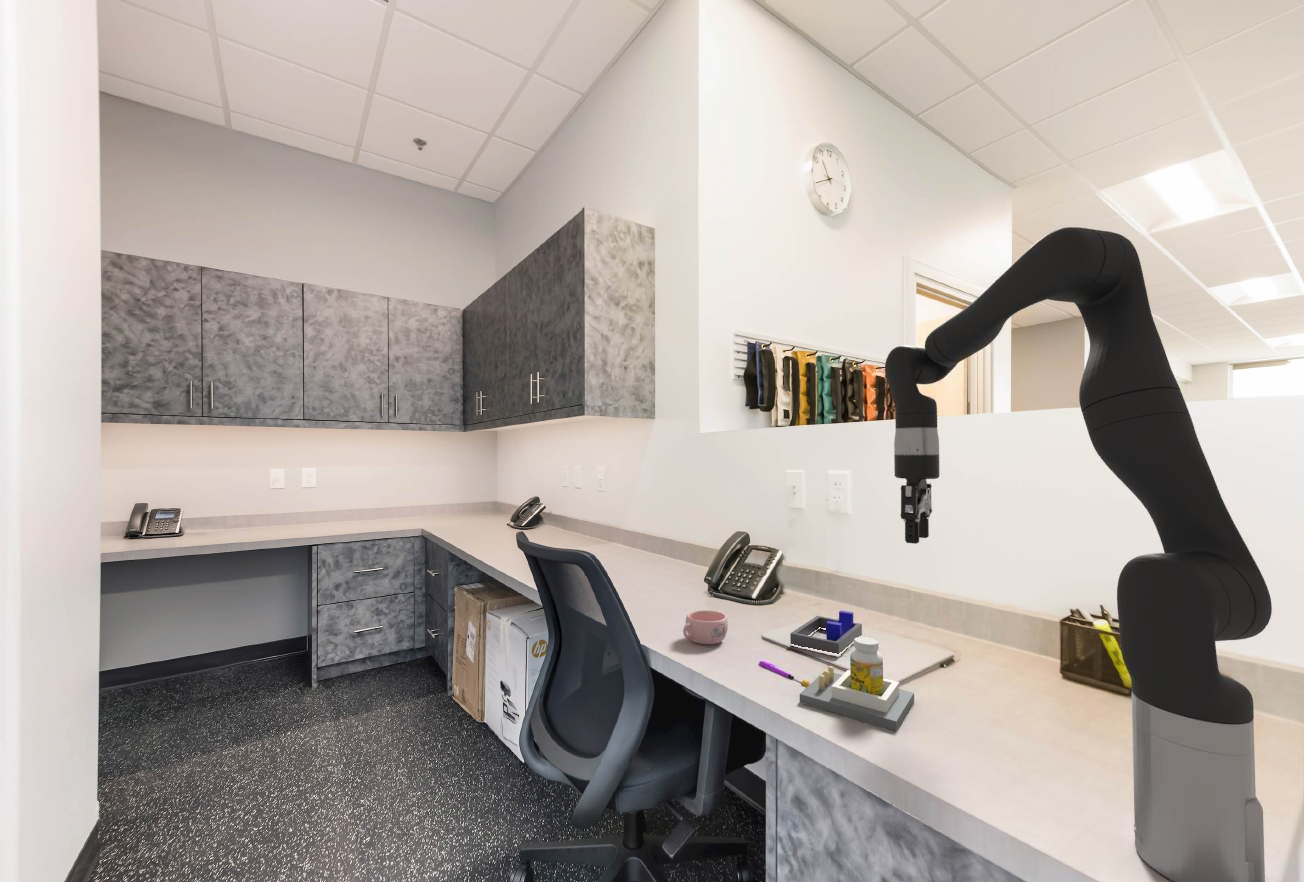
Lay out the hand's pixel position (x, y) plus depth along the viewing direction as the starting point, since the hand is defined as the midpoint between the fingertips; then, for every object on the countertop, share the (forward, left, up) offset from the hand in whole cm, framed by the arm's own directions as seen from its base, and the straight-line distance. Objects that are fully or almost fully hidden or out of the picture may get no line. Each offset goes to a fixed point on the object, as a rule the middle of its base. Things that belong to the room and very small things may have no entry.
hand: (917, 540), depth 99 cm
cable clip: (+21, -18, -28) cm, 40 cm away
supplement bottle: (+6, +10, -27) cm, 29 cm away
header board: (+8, +10, -28) cm, 31 cm away
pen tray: (+23, -17, -28) cm, 40 cm away
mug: (+46, +1, -28) cm, 54 cm away
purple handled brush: (+22, +7, -29) cm, 37 cm away
